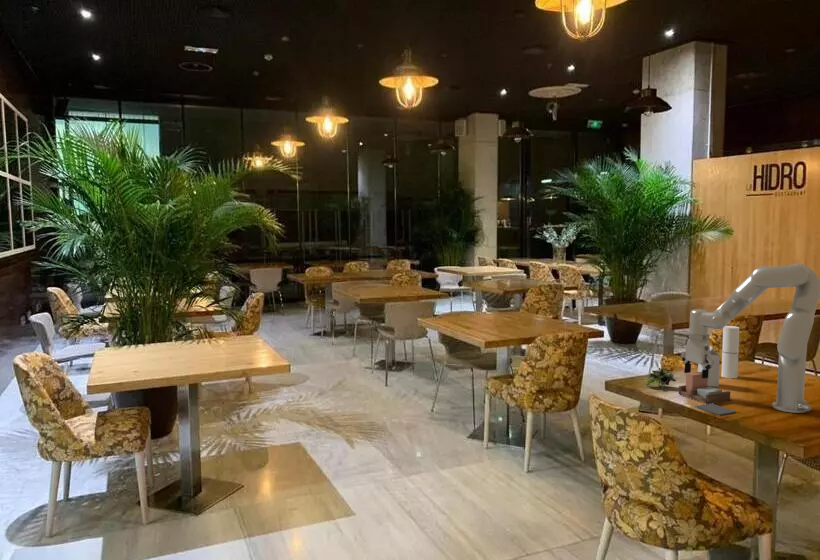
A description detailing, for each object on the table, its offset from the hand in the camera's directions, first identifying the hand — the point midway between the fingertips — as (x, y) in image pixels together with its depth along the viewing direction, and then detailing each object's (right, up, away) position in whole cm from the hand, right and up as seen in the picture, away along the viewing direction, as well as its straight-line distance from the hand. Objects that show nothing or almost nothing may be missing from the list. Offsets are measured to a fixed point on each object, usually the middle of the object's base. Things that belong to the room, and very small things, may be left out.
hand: (696, 375), depth 276 cm
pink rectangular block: (0, -9, +1) cm, 9 cm away
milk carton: (+14, -8, +18) cm, 24 cm away
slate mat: (-2, -11, -21) cm, 23 cm away
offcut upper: (+3, -8, -6) cm, 10 cm away
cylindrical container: (+32, -6, +33) cm, 46 cm away
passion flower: (-10, -8, +14) cm, 19 cm away
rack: (+2, -9, -3) cm, 10 cm away
